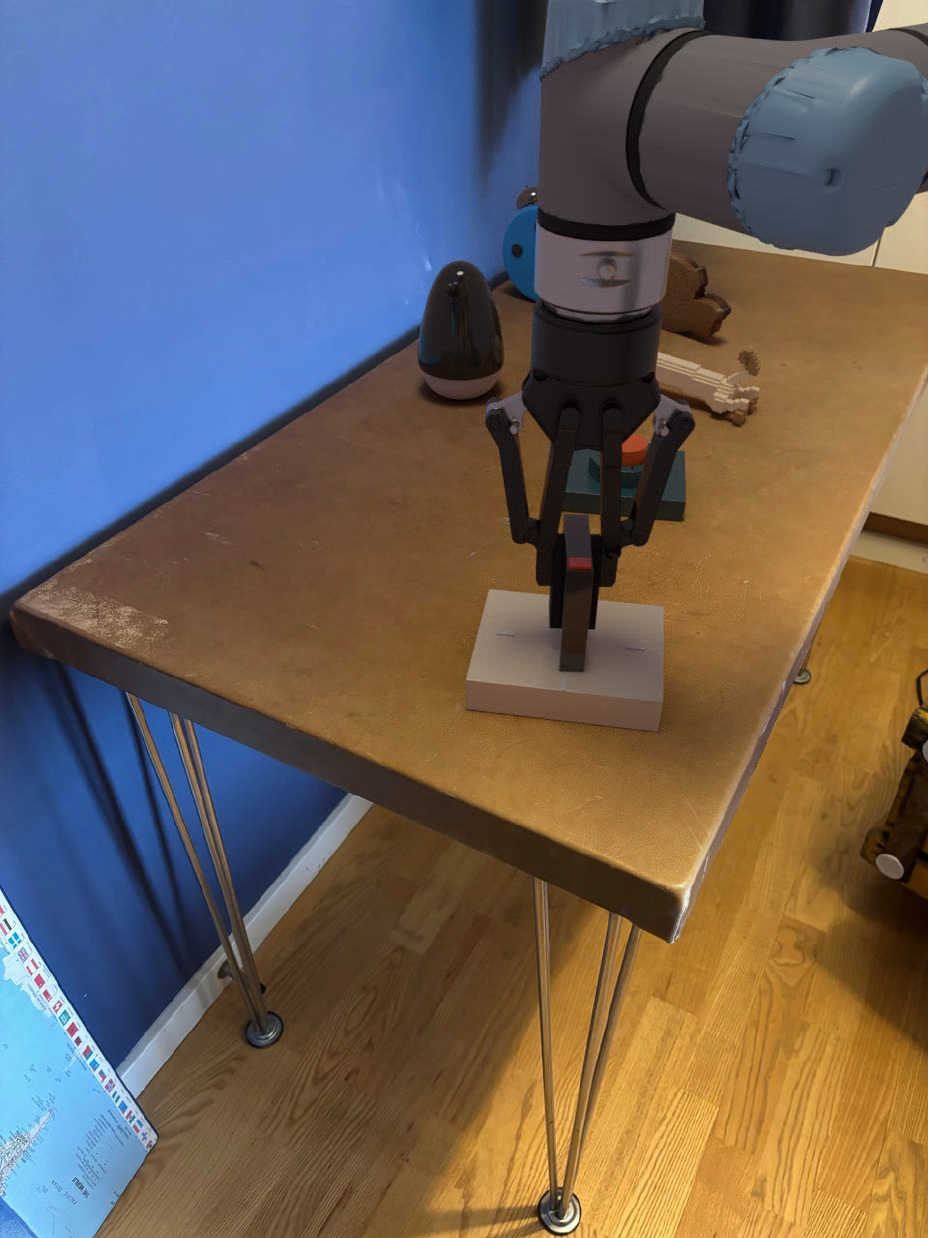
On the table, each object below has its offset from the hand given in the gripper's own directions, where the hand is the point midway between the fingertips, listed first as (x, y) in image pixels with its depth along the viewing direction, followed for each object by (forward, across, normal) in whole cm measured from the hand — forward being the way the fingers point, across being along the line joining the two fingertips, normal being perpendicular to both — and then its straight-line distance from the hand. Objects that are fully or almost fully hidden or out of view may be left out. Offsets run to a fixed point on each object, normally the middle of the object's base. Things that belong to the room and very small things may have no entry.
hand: (571, 616), depth 67 cm
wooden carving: (+6, +17, +70) cm, 73 cm away
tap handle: (+2, 0, 0) cm, 2 cm away
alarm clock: (+6, 0, +82) cm, 82 cm away
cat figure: (+6, +11, +50) cm, 51 cm away
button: (+2, +6, +27) cm, 28 cm away
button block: (+5, +6, +27) cm, 29 cm away
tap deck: (+5, 0, 0) cm, 5 cm away
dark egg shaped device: (+6, -11, +50) cm, 51 cm away
